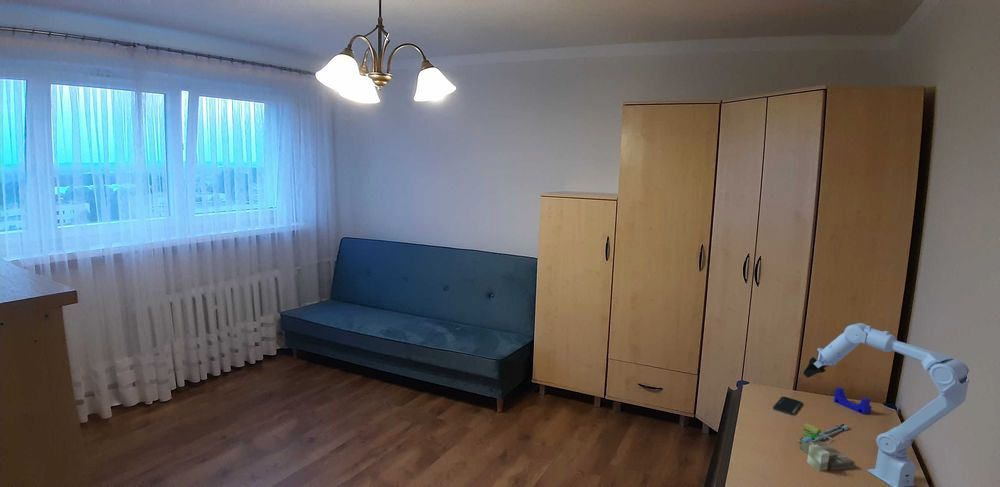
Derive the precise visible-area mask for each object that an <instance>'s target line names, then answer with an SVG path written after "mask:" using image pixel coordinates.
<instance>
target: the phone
mask: <svg viewBox="0 0 1000 487" xmlns="http://www.w3.org/2000/svg"><path fill="white" fill-rule="evenodd" d="M803 404H804V403H803V401H801V400H797V399H794V398H792V397H791V398H790V397H787V396H781V397H780V398H779V400H777V402H776V403H775V404H774V405H773V406H772V409H773V410H774V411H776V412H780V413H783V414H786V415H790V416H795V415H796V414H797V412H798V411H799V409H800V408H801V407H802V406H803Z"/></svg>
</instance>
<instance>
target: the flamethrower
mask: <svg viewBox="0 0 1000 487" xmlns="http://www.w3.org/2000/svg"><path fill="white" fill-rule="evenodd" d="M803 430H804V433H802V435H803V436H805V437H799V438H797V442H798V443H799V444H800V443H808V442H817V441H825V440H826V439H829V440H830V441H828V442H827V444H829V443H831V442H832V441H834V439H833V437H830V436H832V435H835V434H837V433H840V432H841V431H845V432H846V431H848V430H850V426H849V425H848V424H844V423H841V424H839V425H836V426H835V427H833V428H830V429H827V430H825V431H822V432H821V428H818V427H816V426H814V425H812V424H810V423H807V422H806V423H805V424H804V426H803Z"/></svg>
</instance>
